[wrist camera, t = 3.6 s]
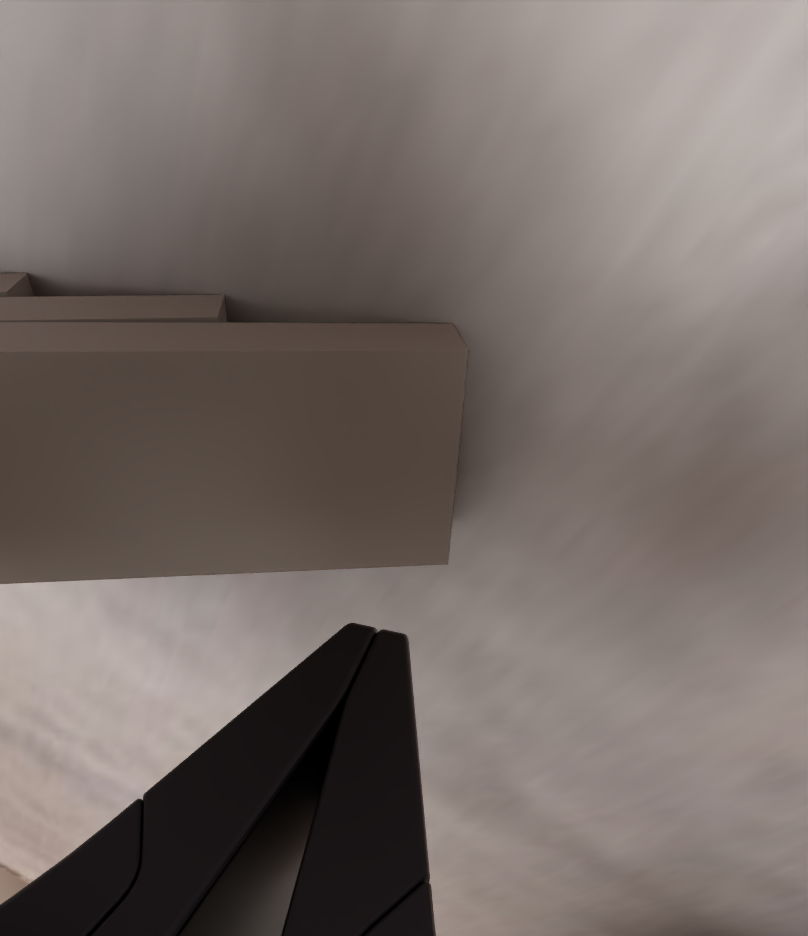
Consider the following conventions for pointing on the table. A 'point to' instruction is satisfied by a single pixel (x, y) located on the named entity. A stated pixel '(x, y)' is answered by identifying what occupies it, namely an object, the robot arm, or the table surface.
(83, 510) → the domino
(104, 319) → the domino
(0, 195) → the table surface
